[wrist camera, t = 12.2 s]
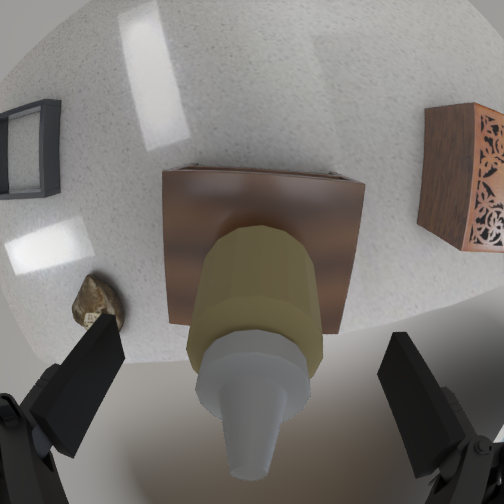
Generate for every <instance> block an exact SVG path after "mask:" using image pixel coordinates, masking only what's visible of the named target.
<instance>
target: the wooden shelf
mask: <svg viewBox="0 0 504 504" xmlns="http://www.w3.org/2000/svg"><path fill="white" fill-rule="evenodd" d="M364 192H365V184H363V183H361V182H359V181H356V180H354V179H351V178H348V177H346V176H343V175H341V174H338V173H334V172H330V173H329V174H321V173H311V172H301V171H289V170H277V169H262V168H245V167H222V166H198V163H191V164H187V165H183V166H179V167H175V168H171V169H168V170H164V171H163V172H162V202H163V240H164V261H165V277H166V291H167V303H168V314H169V323H171V324H180V325H189V326H190V325H191V320H192V315H193V310H194V305H195V300H196V296H197V291H198V286H199V282H200V277H201V273H202V268H203V264H204V259H205V256H206V255H207V254H208V252H209V251H210V250H211V248H212V247H213V246H214V244H215V243H216V242H217V240H218V239H220V238H222V237H223V236H225V235H227V234H229V233H230V232H232V231H234V230H236V229H237V228H243V227H250V226H258V225H264V226H267V227H271V228H275V229H279V230H283V231H286V232H287V233H288V234H289V235H291V236H292V237H293V238H295V239H296V240H297V241H299V242H300V243H301V244H302V245H303V246H304V247H305V249H306V251H307V253H308V255H309V257H310V258H311V260H312V262H313V264H314V271H315V278H316V285H317V293H318V301H319V309H320V317H321V326H322V334H338V332H339V328H340V324H341V320H342V316H343V311H344V307H345V302H346V298H347V293H348V288H349V284H350V279H351V274H352V268H353V263H354V258H355V252H356V246H357V240H358V234H359V228H360V221H361V214H362V207H363V200H364Z"/></svg>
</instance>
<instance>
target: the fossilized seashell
mask: <svg viewBox="0 0 504 504" xmlns="http://www.w3.org/2000/svg"><path fill="white" fill-rule="evenodd" d="M72 313H73V318H74V319H75V321H76V322H77V323H78V324H80V325H81V326H83V327H85V329H86V330H87V331H88V329H89V328H90V327H91V326H92V324H93V323H94V322H95V321H96V319H97V318H98V317H99V316H100V315H101V313H107V314H113V315H116V320H117V325H118V330H119V332H120V330H121V328H122V326H123V323H124V314H123V312H122V307H121V303H120V300H119V298H118V296H117V295H116V293H115V292H114V291H113V290H112V289H111V288H110V287H109V286H108V285H107V284H106V283H104V282H102V281H100V280H98V279H96V278H95V277H93V276H92V275H90V274H89V275H87V276H86V278H85V280H84V282H83V284H82V286H81V289H80V291H79V293H78V295H77V297H76V299H75V301H74V303H73V305H72Z"/></svg>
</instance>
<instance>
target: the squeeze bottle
mask: <svg viewBox="0 0 504 504" xmlns="http://www.w3.org/2000/svg"><path fill="white" fill-rule="evenodd" d="M186 350H187V353H188V356H189V359H190V362H191V365H192V368H193V369H194V371H195V372H196V373H197V374H198V378H197V383H196V388H195V390H196V393H197V396H198V398H199V401H200V403H201V404H202V405H203V406H204V407H205V408H206V409H207V410H208V411H209V412H210V413H211V414H212V415H213V416H215V417H217V418H219V419H221V420H222V423H223V430H224V437H225V443H226V450H227V456H228V462H229V468H230V473H231V475H232V476H233V477H235V478H237V479H241V480H247V481H253V480H260V479H263V478H265V477H266V476H267V474H268V470H269V467H270V463H271V460H272V456H273V452H274V448H275V445H276V441H277V437H278V433H279V429H280V425H281V422H284V421H287V420H289V419H290V418H291V417H293V416H294V415H296V414H297V413H299V412H300V411H301V410H302V409H303V408H304V406H305V405H306V403H307V401H308V400H309V398H310V378H312V377H313V375H314V374H315V372H316V370H317V368H318V366H319V364H320V362H321V361H322V359H323V335H322V326H321V317H320V309H319V301H318V293H317V285H316V278H315V271H314V264H313V262H312V260H311V258H310V257H309V255H308V253H307V251H306V249H305V247H304V246H303V245H302V244H301V243H300V242H299V241H297V240H296V239H295V238H293V237H292V236H291V235H289V234H288V233H287V232H286V231H283V230H279V229H275V228H271V227H267V226H264V225H258V226H250V227H243V228H237V229H236V230H234V231H232V232H230V233H229V234H227V235H225V236H223V237H222V238H220V239H218V240H217V242H216V243H215V244H214V246H213V247H212V248H211V250H210V251H209V252H208V254H207V255H206V256H205V259H204V264H203V268H202V273H201V277H200V282H199V286H198V291H197V296H196V300H195V305H194V310H193V315H192V320H191V325H190V330H189V335H188V341H187V347H186Z"/></svg>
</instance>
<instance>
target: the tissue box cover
mask: <svg viewBox="0 0 504 504" xmlns="http://www.w3.org/2000/svg"><path fill="white" fill-rule="evenodd" d="M417 224H418V225H420V226H422V227H423V228H425V229H427V230H428V231H430V232H432V233H433V234H435V235H436V236H438V237H440V238H441V239H443V240H444V241H446V242H448V243H449V244H451V245H452V246H454V247H455V248H457V249H458V250H460V251H470V252H498V253H504V114H501V113H499V112H497V111H495V110H492V109H490V108H487V107H485V106H482V105H480V104H477V103H475V102H473V103H464V104H456V105H448V106H441V107H434V108H428V109H425V141H424V162H423V176H422V187H421V197H420V205H419V213H418V220H417Z"/></svg>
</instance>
